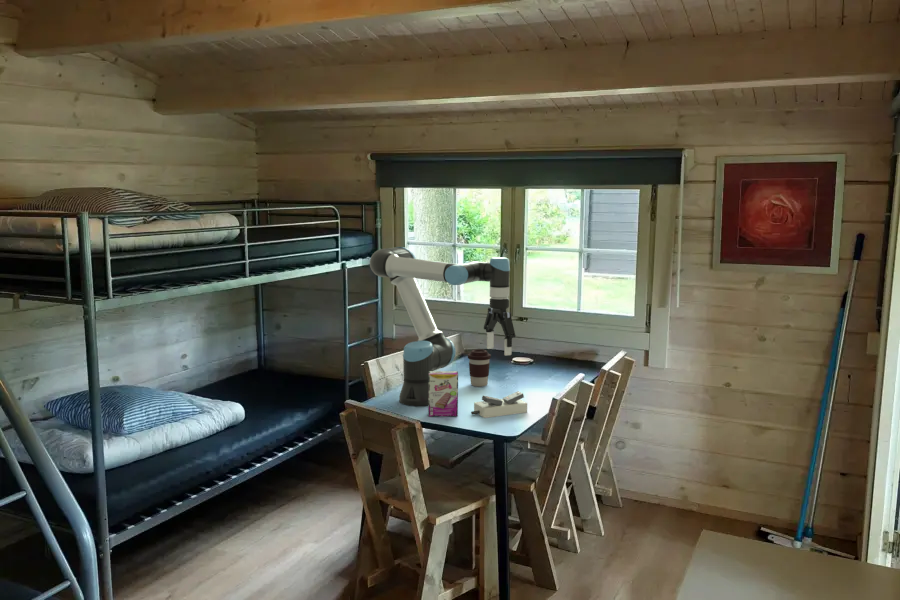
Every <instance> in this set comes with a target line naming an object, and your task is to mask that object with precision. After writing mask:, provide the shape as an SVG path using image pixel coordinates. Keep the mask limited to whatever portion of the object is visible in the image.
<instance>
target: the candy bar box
mask: <svg viewBox="0 0 900 600" xmlns="http://www.w3.org/2000/svg"><path fill="white" fill-rule="evenodd" d="M427 408H428V409H427V411H428V412H427V413H428V415H427V416H428V417H458V414H459V372H458V371H456V370H453V371H451V370H450V371H449V370H444V371H443V370H442V371H441V370H438V371H437V370H434V371H429V384H428V405H427Z"/></svg>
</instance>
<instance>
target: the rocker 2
mask: <svg viewBox="0 0 900 600" xmlns="http://www.w3.org/2000/svg"><path fill="white" fill-rule="evenodd" d="M524 398H525V395H524V393H523V392H521V391H518V390H517V391H515V392H513V393H511V394H509V395H506V396H504V397H503V398H502V399H503V400H504V402H505V403H507V404H511V403H513V402H515V401H517V400H519V399H520V400H522V399H524Z"/></svg>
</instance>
